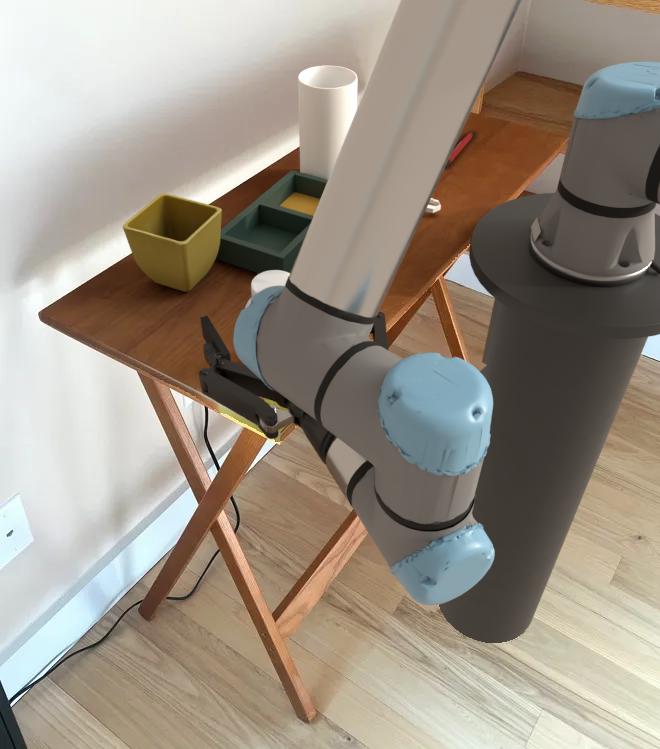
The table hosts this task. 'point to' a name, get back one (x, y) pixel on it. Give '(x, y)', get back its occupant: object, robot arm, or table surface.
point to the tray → (273, 225)
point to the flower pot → (175, 240)
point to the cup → (324, 116)
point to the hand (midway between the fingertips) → (265, 307)
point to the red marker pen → (459, 147)
